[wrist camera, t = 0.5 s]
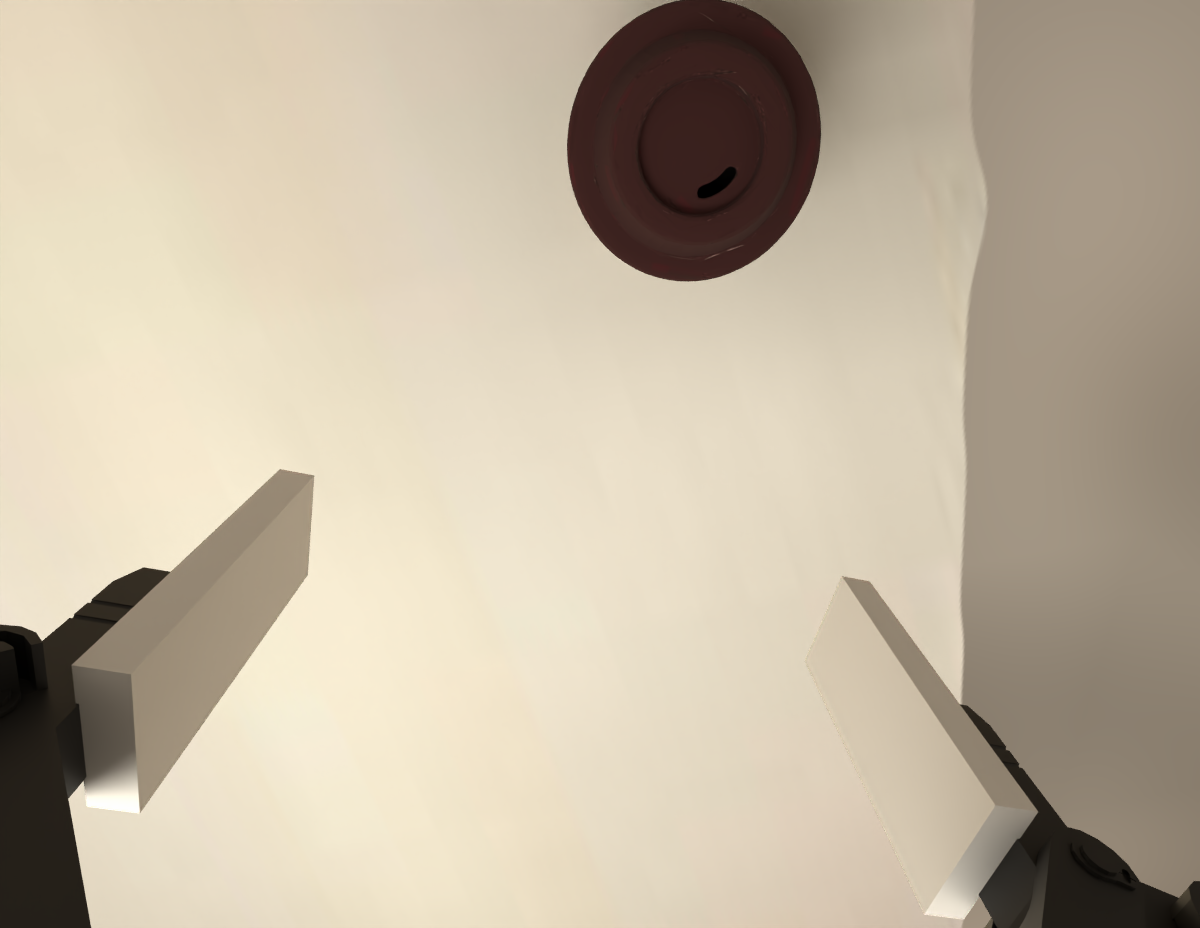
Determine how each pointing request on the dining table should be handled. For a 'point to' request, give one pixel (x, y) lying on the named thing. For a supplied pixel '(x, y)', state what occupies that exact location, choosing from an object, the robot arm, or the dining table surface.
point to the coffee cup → (694, 139)
